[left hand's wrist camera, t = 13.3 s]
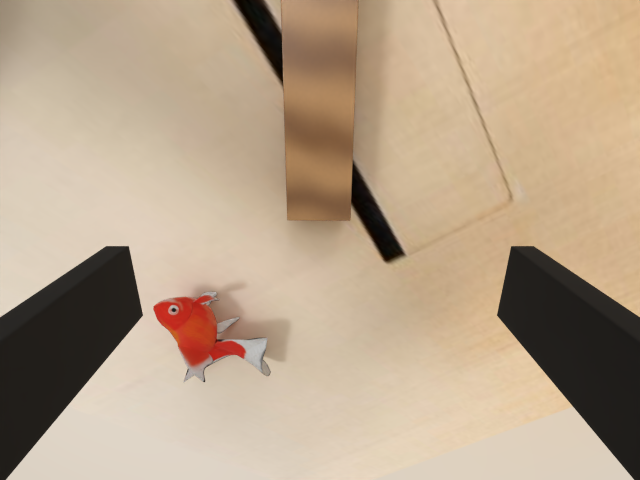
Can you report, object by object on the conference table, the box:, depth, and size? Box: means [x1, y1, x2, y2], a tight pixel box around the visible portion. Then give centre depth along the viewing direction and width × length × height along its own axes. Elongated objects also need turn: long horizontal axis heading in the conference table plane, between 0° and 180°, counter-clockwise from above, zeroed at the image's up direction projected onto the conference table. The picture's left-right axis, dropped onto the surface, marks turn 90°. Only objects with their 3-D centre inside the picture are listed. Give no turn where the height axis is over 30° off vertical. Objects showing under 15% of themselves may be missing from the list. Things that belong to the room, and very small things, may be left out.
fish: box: [153, 292, 271, 383], centre depth 41 cm, size 11×16×10 cm
